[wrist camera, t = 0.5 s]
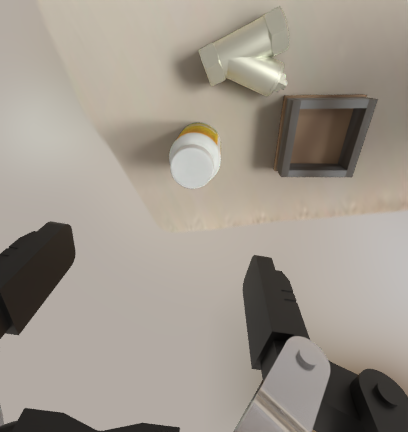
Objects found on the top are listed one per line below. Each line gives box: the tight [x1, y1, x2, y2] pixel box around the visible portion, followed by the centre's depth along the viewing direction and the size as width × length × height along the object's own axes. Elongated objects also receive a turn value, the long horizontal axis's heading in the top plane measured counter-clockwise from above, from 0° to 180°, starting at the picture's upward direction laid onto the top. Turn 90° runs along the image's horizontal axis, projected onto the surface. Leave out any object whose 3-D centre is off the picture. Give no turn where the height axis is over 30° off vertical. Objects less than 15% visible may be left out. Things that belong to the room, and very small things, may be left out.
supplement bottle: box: [169, 122, 221, 189], centre depth 26 cm, size 5×5×10 cm
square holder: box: [274, 94, 378, 177], centre depth 27 cm, size 9×9×3 cm
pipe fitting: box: [198, 6, 289, 97], centre depth 24 cm, size 8×4×7 cm
